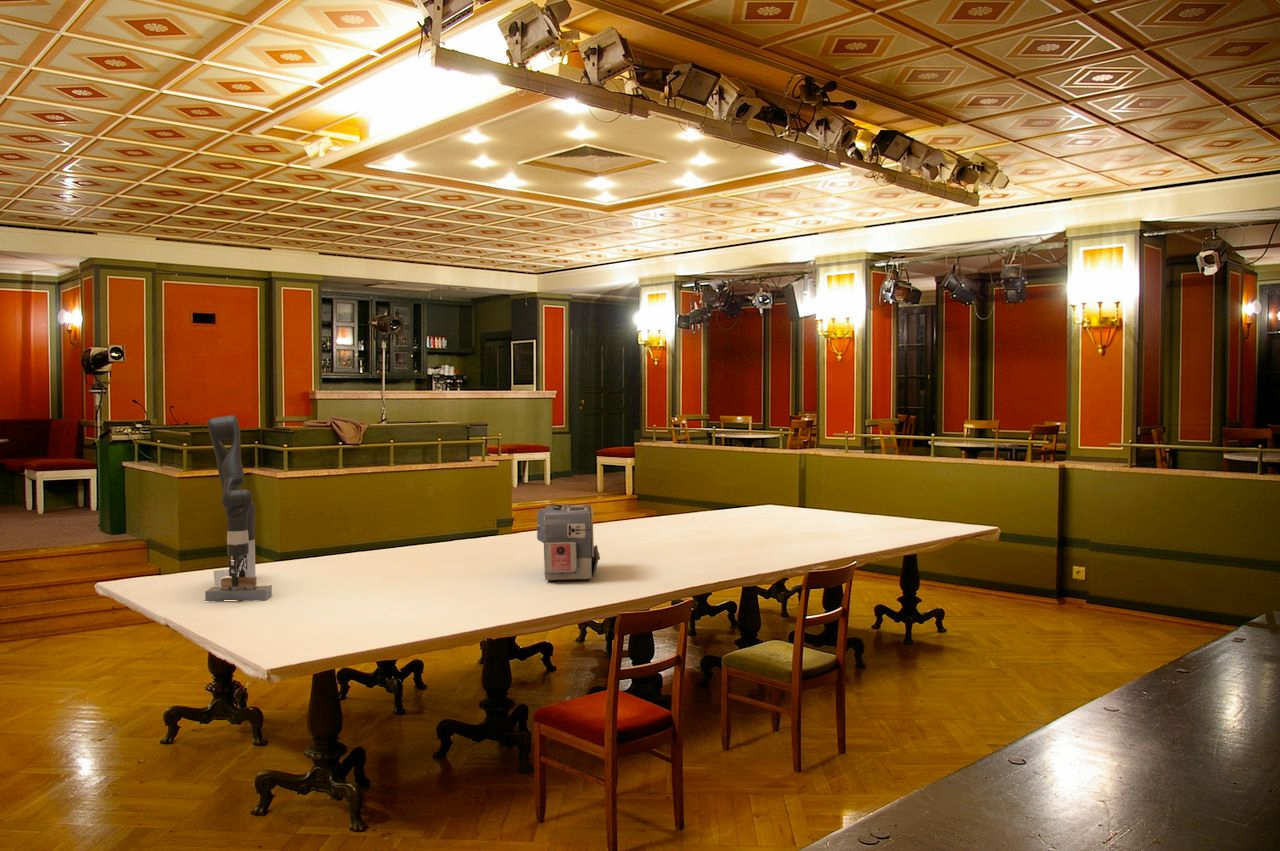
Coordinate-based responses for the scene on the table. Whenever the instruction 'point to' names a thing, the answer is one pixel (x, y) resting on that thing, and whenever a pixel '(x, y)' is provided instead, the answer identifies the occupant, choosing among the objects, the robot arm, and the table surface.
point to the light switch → (220, 576)
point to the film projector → (567, 542)
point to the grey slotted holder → (238, 593)
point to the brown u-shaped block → (243, 581)
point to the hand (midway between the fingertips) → (238, 584)
